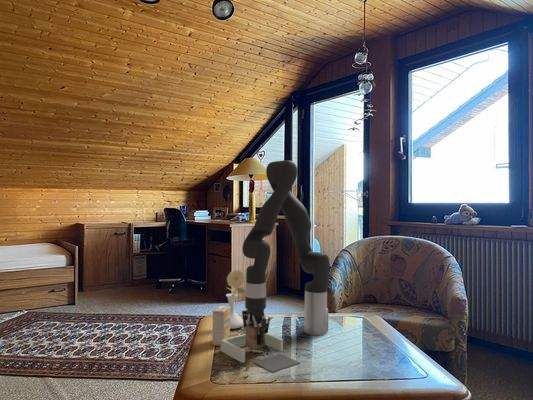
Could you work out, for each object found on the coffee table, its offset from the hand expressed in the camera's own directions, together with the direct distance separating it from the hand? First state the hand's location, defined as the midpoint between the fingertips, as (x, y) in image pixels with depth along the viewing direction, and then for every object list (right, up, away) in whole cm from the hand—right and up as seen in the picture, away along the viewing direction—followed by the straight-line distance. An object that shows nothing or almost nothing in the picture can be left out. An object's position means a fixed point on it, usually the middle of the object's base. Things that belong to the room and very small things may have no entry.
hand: (255, 342), depth 143 cm
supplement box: (-13, -4, +10) cm, 17 cm away
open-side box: (-1, -4, +1) cm, 4 cm away
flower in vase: (-10, -4, +29) cm, 31 cm away
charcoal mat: (+7, -4, -9) cm, 13 cm away
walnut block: (0, -1, 0) cm, 1 cm away
